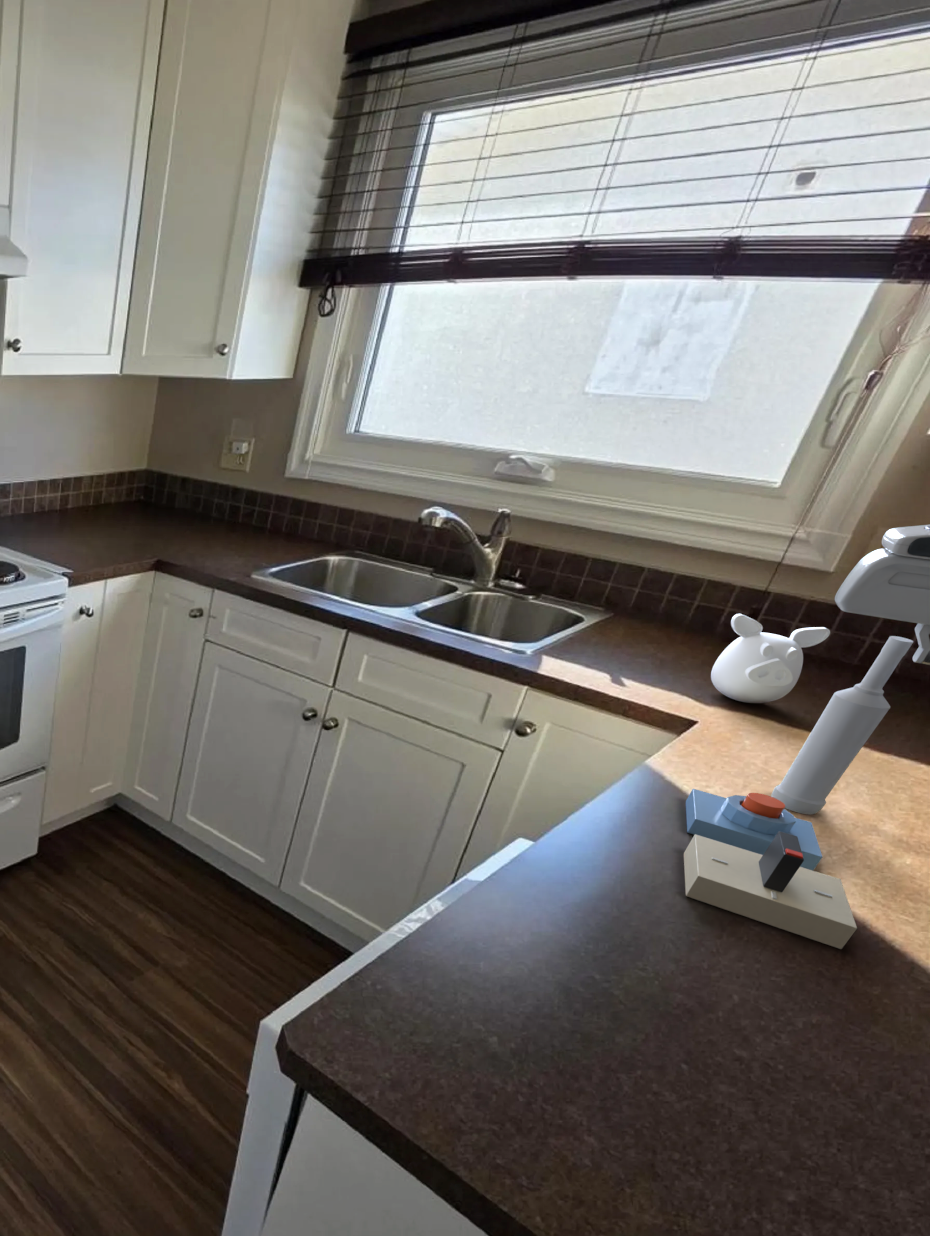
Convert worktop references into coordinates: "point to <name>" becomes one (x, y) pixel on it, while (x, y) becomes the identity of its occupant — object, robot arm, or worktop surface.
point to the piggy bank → (762, 661)
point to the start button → (763, 805)
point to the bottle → (839, 734)
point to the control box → (768, 892)
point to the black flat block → (780, 861)
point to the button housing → (747, 825)
